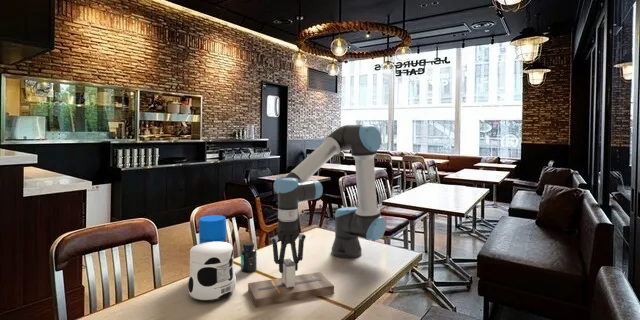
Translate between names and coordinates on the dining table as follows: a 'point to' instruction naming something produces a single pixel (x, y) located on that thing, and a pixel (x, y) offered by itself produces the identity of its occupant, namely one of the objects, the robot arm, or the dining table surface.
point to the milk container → (211, 271)
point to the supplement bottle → (248, 258)
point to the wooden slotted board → (289, 289)
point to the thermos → (212, 229)
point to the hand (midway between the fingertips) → (288, 279)
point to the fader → (289, 273)
